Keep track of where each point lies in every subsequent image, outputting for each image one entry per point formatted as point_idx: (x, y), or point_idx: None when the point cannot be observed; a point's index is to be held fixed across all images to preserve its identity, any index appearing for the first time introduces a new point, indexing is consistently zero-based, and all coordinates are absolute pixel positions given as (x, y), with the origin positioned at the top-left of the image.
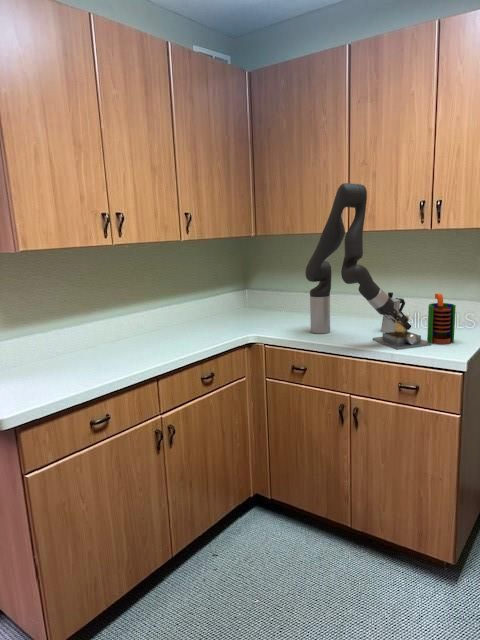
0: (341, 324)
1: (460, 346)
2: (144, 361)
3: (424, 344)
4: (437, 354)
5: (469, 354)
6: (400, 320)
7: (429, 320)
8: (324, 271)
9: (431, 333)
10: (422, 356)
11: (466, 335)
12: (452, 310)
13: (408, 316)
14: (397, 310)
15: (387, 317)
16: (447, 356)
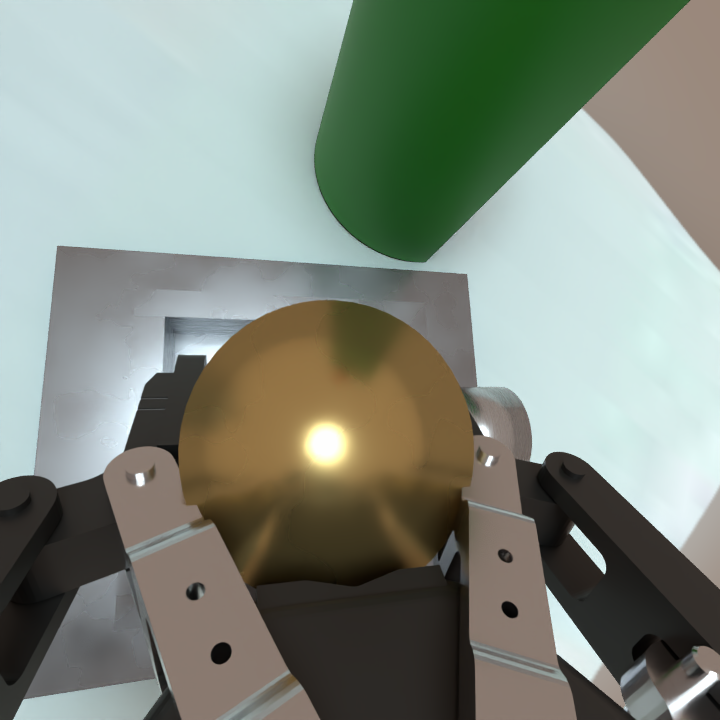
0: None
1: (541, 151)
2: None
3: (470, 340)
4: (662, 403)
5: (695, 243)
6: (585, 622)
7: (510, 129)
8: None
9: (468, 217)
10: (682, 524)
11: None
12: None
13: (410, 332)
14: (566, 699)
15: (44, 649)
16: (708, 378)
